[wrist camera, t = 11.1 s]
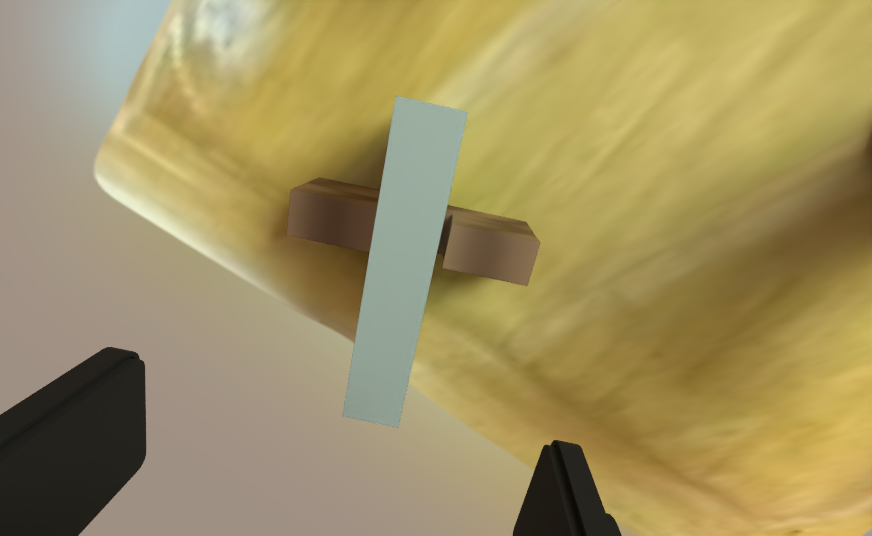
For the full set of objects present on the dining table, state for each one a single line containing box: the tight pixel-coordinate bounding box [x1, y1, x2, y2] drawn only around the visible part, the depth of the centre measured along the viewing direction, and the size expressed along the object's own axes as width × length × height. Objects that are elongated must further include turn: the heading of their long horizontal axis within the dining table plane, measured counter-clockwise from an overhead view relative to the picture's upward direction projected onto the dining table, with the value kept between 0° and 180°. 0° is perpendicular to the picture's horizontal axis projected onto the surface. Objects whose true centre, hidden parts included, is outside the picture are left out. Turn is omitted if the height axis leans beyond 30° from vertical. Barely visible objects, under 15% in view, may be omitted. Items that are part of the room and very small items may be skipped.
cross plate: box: [342, 96, 468, 428], centre depth 27 cm, size 16×3×14 cm, turn 168°
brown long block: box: [287, 178, 540, 286], centre depth 31 cm, size 16×3×6 cm, turn 78°
